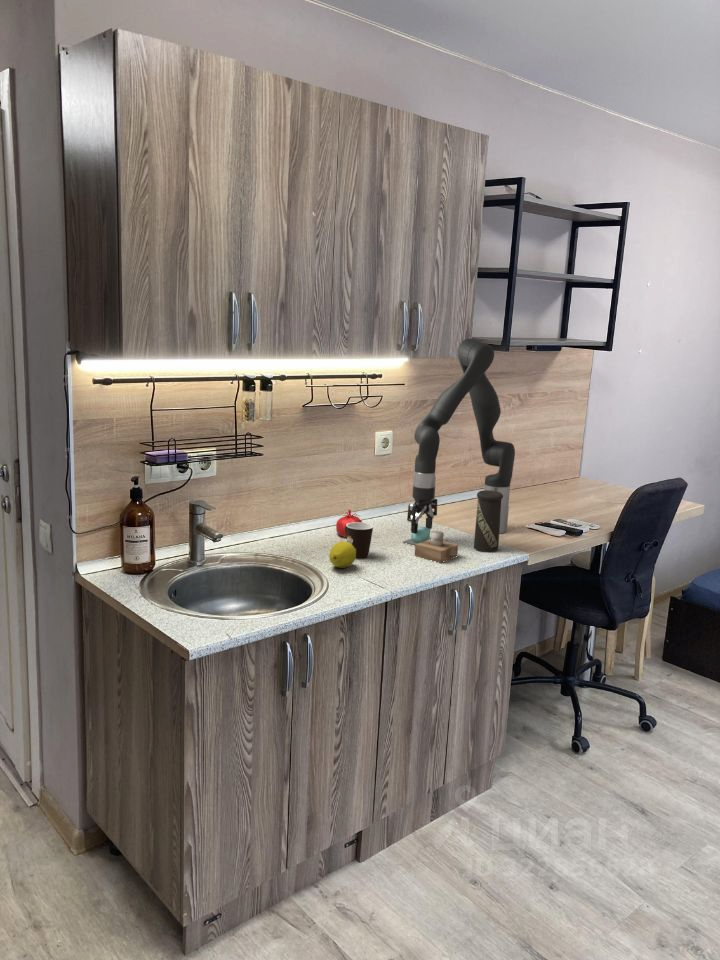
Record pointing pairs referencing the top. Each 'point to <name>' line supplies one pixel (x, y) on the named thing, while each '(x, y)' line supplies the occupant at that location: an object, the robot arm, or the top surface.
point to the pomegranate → (344, 521)
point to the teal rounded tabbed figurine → (421, 535)
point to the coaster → (410, 542)
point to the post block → (436, 548)
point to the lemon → (342, 554)
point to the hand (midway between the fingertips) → (421, 530)
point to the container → (488, 521)
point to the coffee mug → (359, 537)
